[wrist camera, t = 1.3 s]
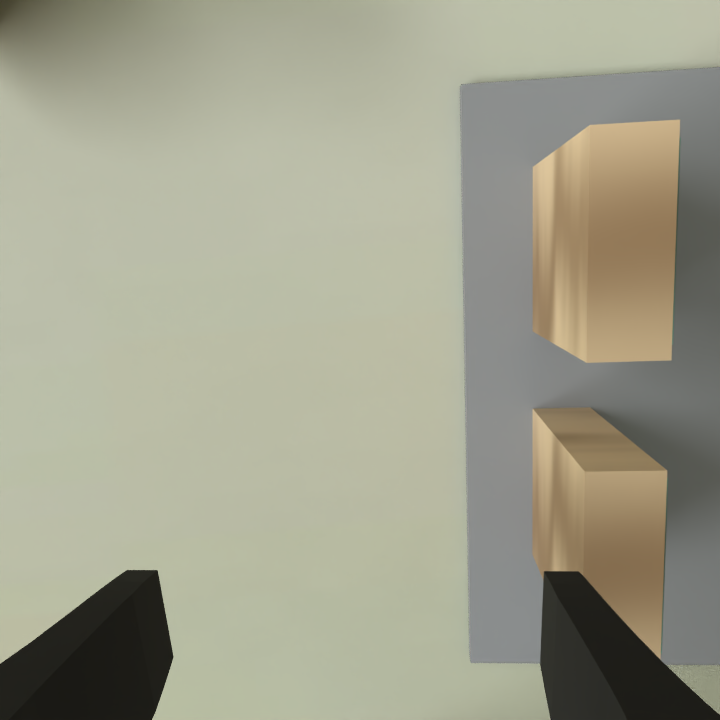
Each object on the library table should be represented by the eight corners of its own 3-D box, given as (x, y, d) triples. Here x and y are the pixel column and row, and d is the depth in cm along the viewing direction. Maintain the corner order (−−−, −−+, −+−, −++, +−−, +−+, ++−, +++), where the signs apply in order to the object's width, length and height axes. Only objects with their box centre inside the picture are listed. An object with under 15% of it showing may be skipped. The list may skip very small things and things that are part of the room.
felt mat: (892, 659, 21) (901, 666, 20) (469, 655, 22) (470, 662, 22) (953, 55, 18) (965, 50, 17) (460, 87, 19) (461, 84, 19)
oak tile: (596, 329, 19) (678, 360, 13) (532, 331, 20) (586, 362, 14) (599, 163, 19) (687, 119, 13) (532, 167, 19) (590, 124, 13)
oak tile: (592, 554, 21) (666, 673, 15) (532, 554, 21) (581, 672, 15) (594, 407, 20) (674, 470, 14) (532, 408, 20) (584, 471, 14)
